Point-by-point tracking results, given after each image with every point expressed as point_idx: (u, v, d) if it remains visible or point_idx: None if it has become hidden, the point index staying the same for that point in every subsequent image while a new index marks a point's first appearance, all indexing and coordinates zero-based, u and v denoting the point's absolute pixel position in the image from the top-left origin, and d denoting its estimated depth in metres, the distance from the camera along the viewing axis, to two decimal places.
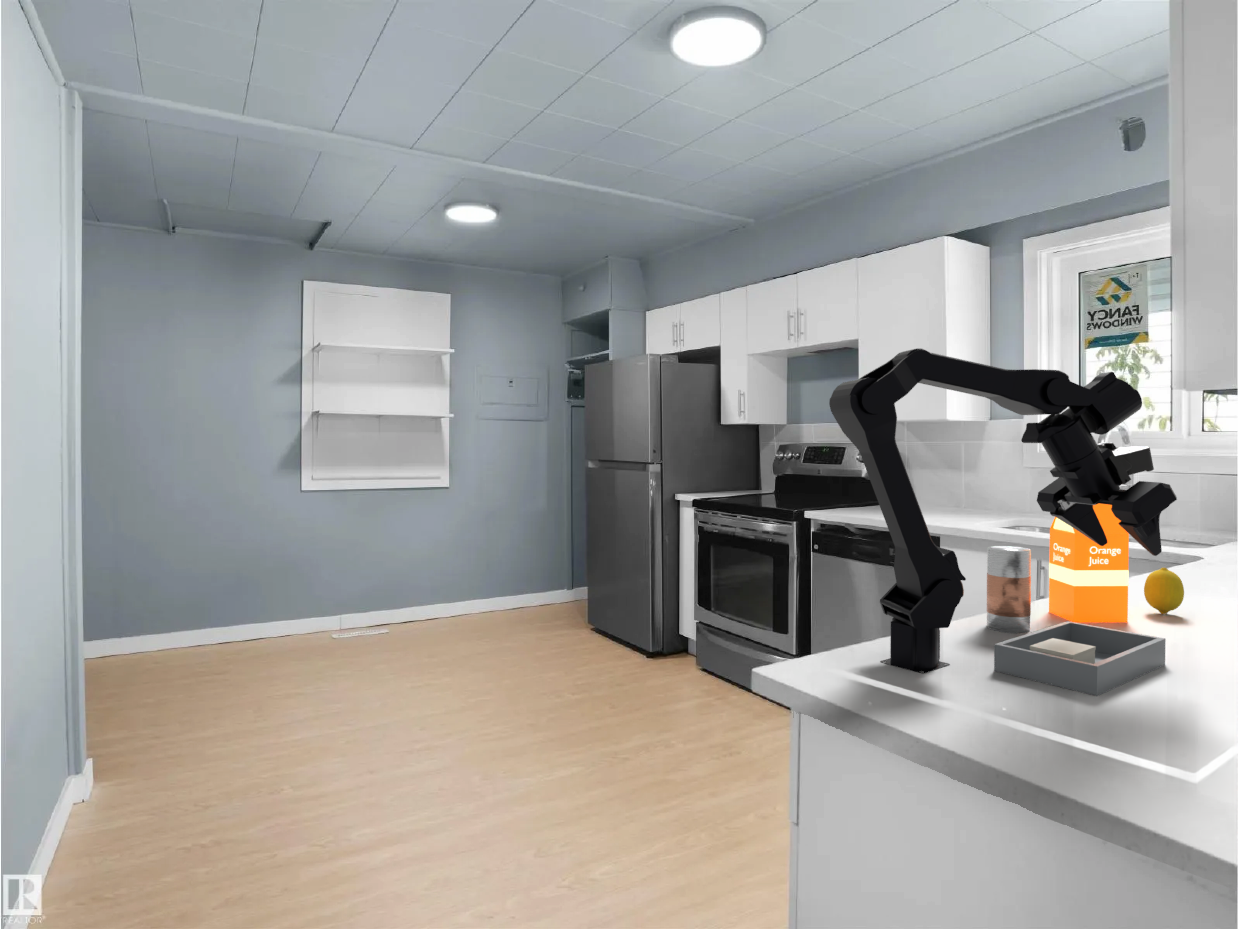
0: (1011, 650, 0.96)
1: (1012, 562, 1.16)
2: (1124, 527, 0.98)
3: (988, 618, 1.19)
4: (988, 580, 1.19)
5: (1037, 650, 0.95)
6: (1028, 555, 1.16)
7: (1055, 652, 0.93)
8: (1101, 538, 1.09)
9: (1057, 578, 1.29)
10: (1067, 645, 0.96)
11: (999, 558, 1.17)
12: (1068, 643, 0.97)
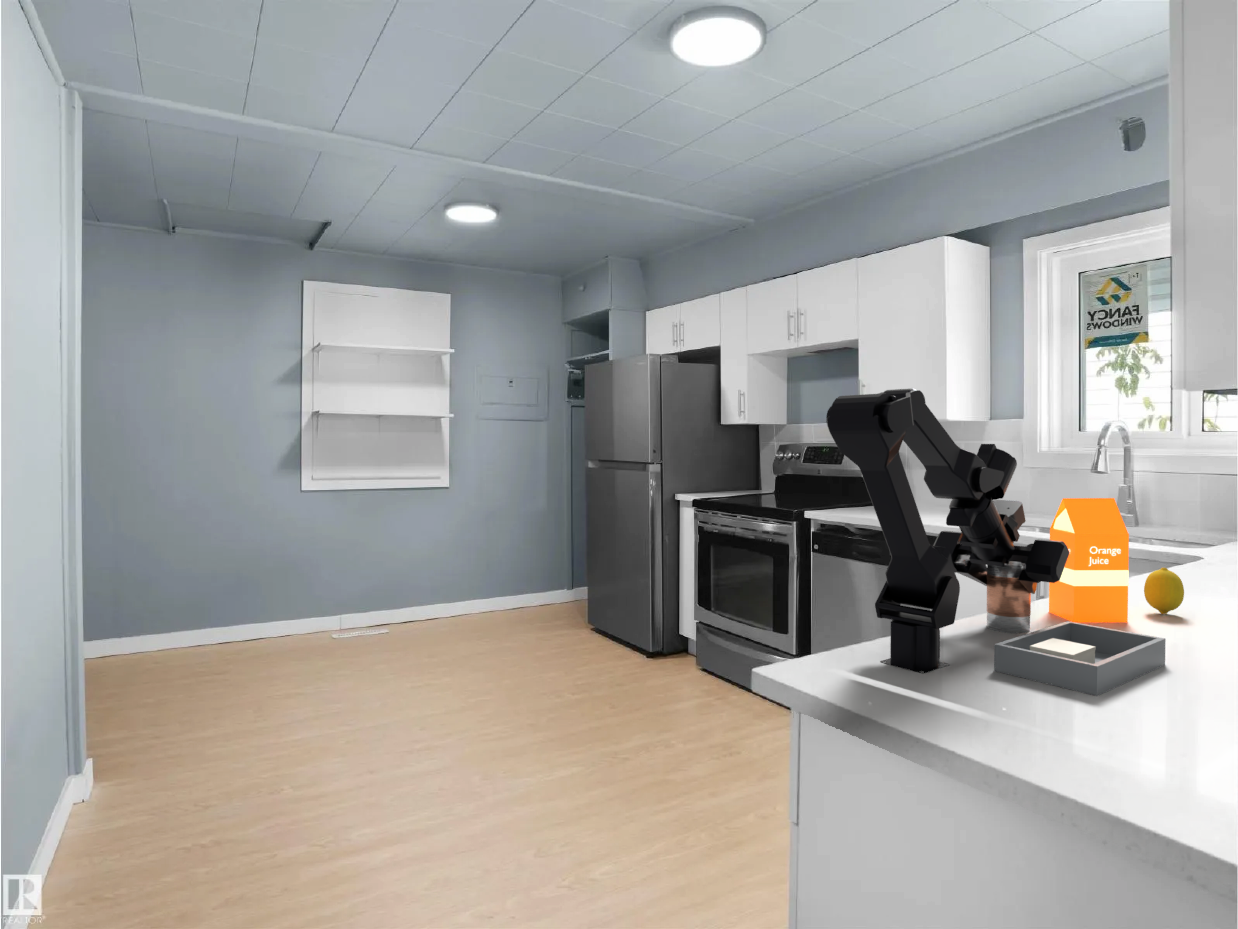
0: (1011, 650, 0.96)
1: (1012, 562, 1.16)
2: (1023, 581, 1.12)
3: (988, 618, 1.19)
4: (988, 580, 1.19)
5: (1037, 650, 0.95)
6: None
7: (1055, 652, 0.93)
8: None
9: None
10: (1067, 645, 0.96)
11: None
12: (1068, 643, 0.97)
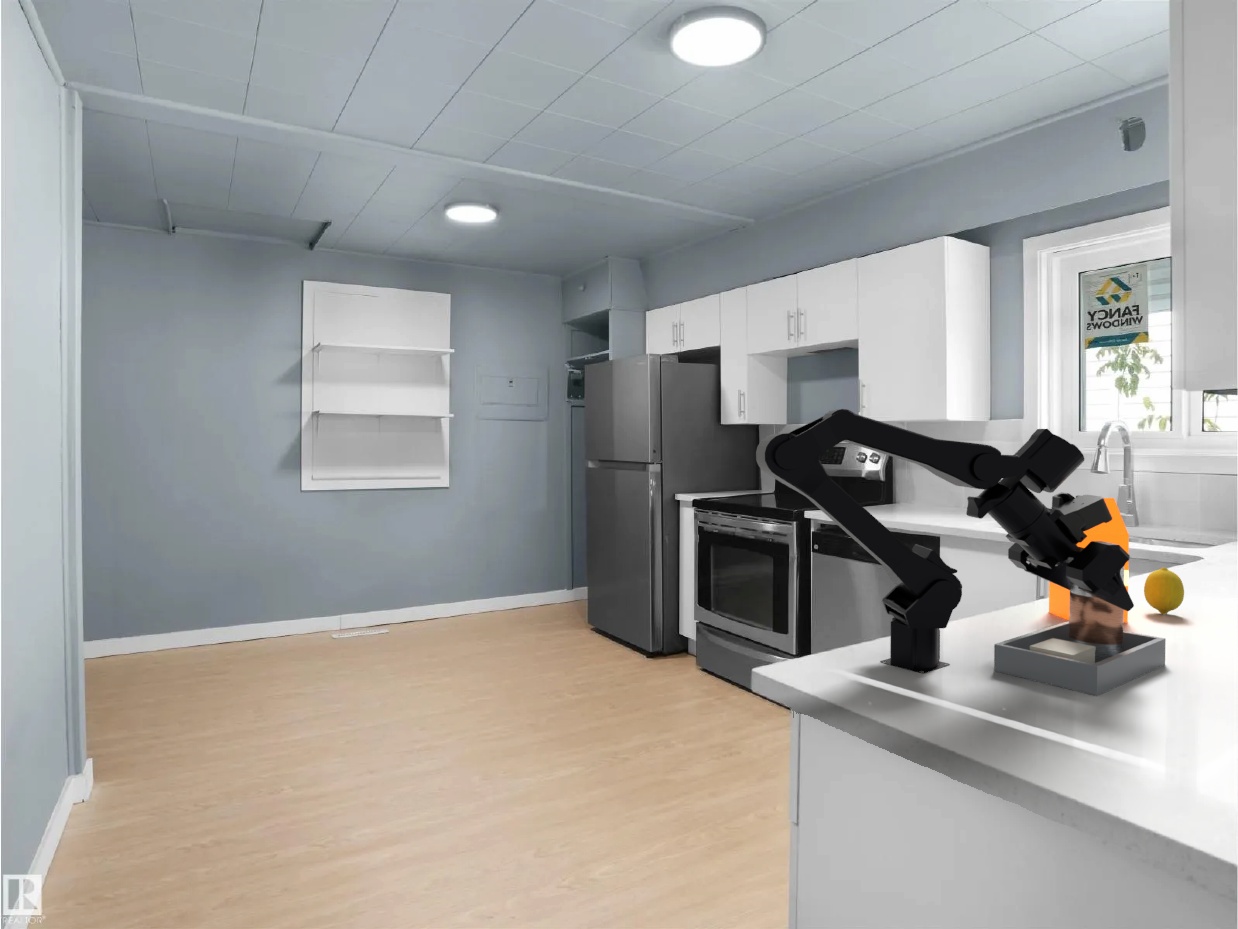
0: (1011, 650, 0.96)
1: None
2: None
3: None
4: None
5: (1037, 650, 0.95)
6: None
7: (1055, 652, 0.93)
8: None
9: None
10: (1067, 645, 0.96)
11: None
12: (1068, 643, 0.97)
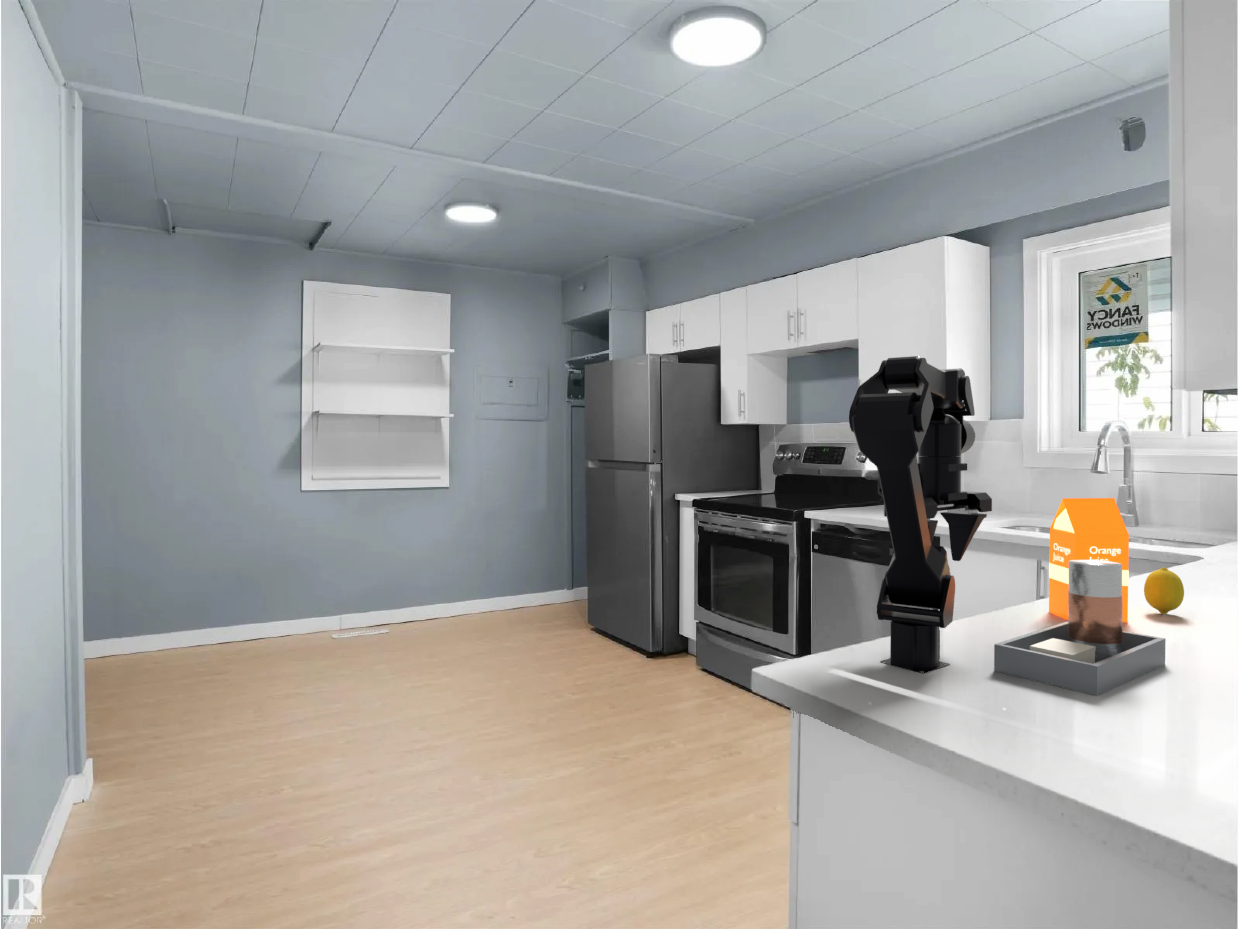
0: (1011, 650, 0.96)
1: (1082, 577, 0.99)
2: (978, 519, 1.12)
3: None
4: None
5: (1037, 650, 0.95)
6: (1107, 571, 0.98)
7: (1055, 652, 0.93)
8: None
9: (1057, 578, 1.29)
10: (1067, 645, 0.96)
11: (1071, 572, 1.01)
12: (1068, 643, 0.97)
